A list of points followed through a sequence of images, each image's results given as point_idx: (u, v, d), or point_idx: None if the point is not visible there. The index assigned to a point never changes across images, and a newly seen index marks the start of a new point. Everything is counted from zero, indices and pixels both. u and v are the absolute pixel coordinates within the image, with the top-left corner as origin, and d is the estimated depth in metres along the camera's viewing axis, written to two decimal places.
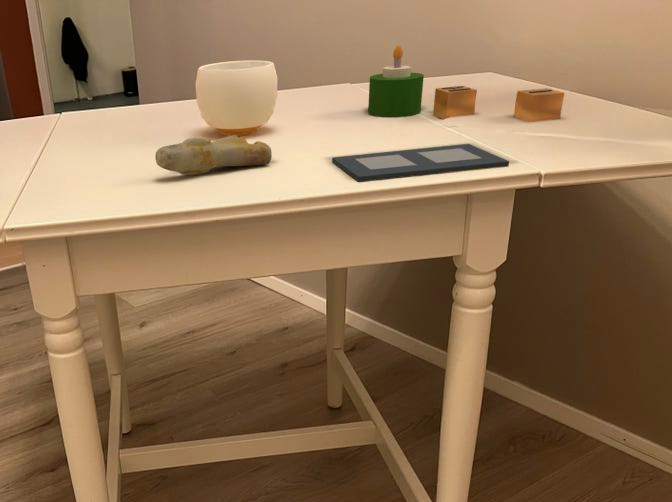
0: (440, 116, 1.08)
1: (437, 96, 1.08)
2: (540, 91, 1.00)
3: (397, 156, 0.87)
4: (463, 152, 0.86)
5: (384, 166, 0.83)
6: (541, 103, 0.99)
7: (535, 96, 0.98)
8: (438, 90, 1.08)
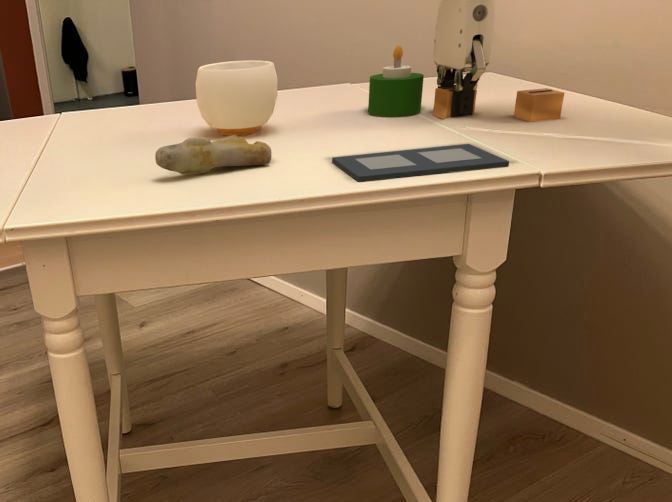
0: (440, 116, 1.08)
1: (437, 96, 1.08)
2: (540, 91, 1.00)
3: (397, 156, 0.87)
4: (463, 152, 0.86)
5: (384, 166, 0.83)
6: (541, 103, 0.99)
7: (535, 96, 0.98)
8: (438, 90, 1.08)
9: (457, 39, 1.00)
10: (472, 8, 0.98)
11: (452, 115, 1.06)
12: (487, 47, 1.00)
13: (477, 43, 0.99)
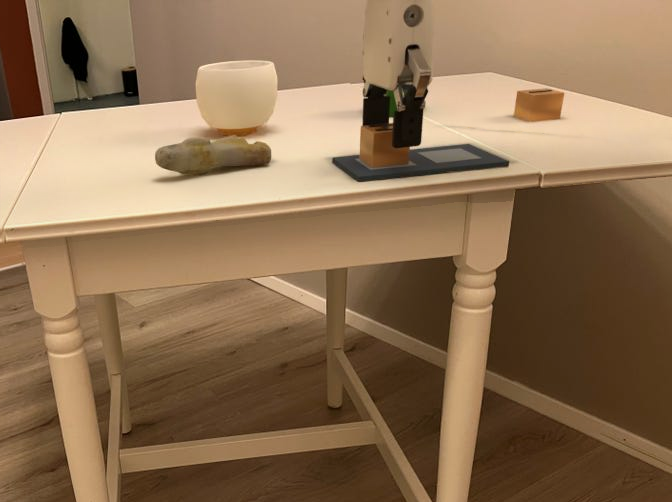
0: (366, 162, 0.84)
1: (363, 136, 0.84)
2: (540, 91, 1.00)
3: None
4: (463, 152, 0.86)
5: None
6: (541, 103, 0.99)
7: (535, 96, 0.98)
8: (363, 129, 0.84)
9: (386, 51, 0.76)
10: (403, 10, 0.73)
11: (394, 143, 0.79)
12: (426, 61, 0.75)
13: None
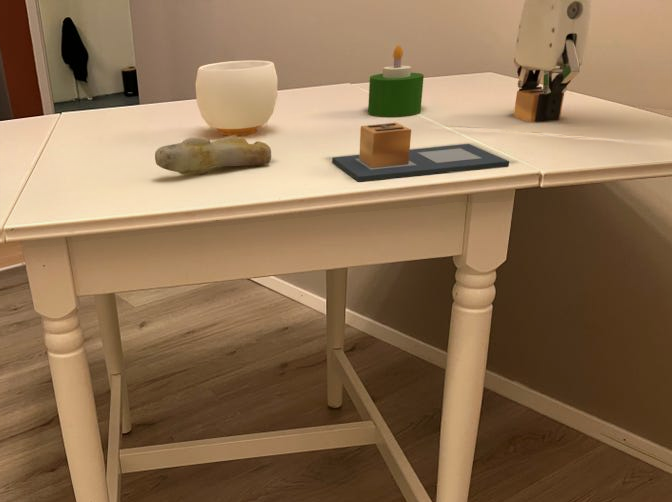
0: (366, 162, 0.84)
1: (363, 136, 0.84)
2: (540, 91, 1.00)
3: None
4: (463, 152, 0.86)
5: None
6: None
7: (535, 96, 0.98)
8: (363, 129, 0.84)
9: (548, 38, 0.94)
10: (567, 5, 0.91)
11: (537, 120, 0.99)
12: (580, 47, 0.93)
13: (570, 43, 0.93)
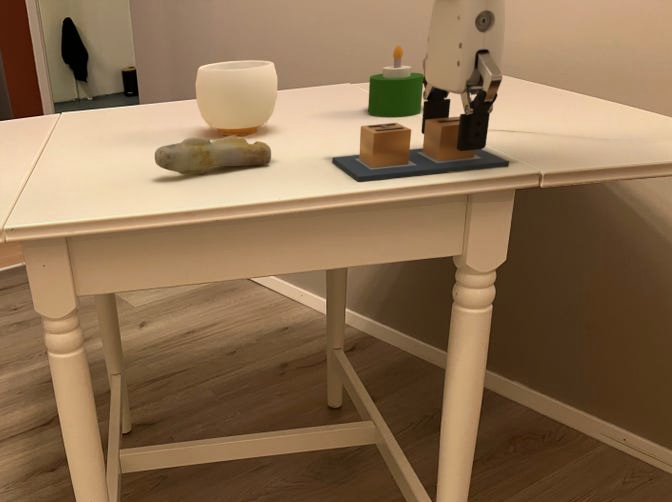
0: (366, 162, 0.84)
1: (363, 136, 0.84)
2: (451, 121, 0.83)
3: None
4: None
5: None
6: (450, 136, 0.82)
7: (443, 127, 0.82)
8: (363, 129, 0.84)
9: (455, 55, 0.77)
10: (475, 15, 0.74)
11: (459, 146, 0.80)
12: None
13: None
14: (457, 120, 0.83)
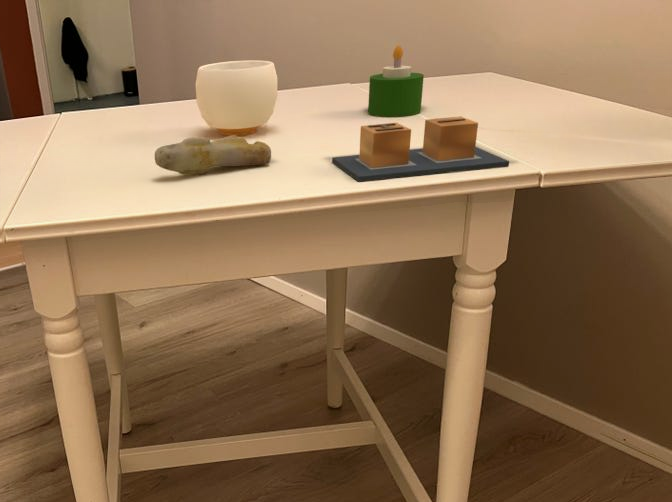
0: (366, 162, 0.84)
1: (363, 136, 0.84)
2: (451, 121, 0.83)
3: None
4: None
5: None
6: (450, 136, 0.82)
7: (443, 127, 0.82)
8: (363, 129, 0.84)
9: None
10: None
11: None
12: None
13: None
14: (457, 120, 0.83)
